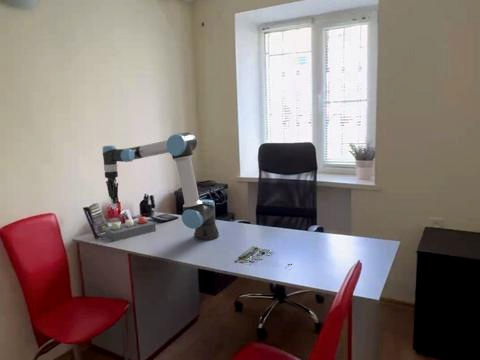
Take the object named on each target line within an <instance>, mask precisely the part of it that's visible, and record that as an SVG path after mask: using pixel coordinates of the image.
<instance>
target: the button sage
mask: <svg viewBox="0 0 480 360" xmlns="http://www.w3.org/2000/svg"><path fill="white" fill-rule="evenodd" d="M120 224H121V222H112V223H111V226H112V230H113V231H115V230H120Z"/></svg>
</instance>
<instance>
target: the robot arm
mask: <svg viewBox="0 0 480 360" xmlns="http://www.w3.org/2000/svg"><path fill="white" fill-rule="evenodd" d="M197 147H198V140H197V136H196V135H195V134H193V133H191V132H180V133H174V134H172V135H171V136H169V137H168V138H167V140H163V141H158V142H153V143H152V142H151V143H149V144H144V145H138V146H134V147H128V148H116V146H115V145H104V146H102V159H103V171H104V177H105V179H107V181H105V184H106V188H107V192H108V197H109V198H110V202H111V203H110V205H111V210H114V209H116V210H117V209H118V205H117V198H118V197H119V196H118V195H119V190H118V189H119V183H118V182H117V179H116V178H118V176H119V174H118V165H117V164H118V162H125V163H128V162H133V161H135V160H139V159H144V158H149V157H154V156H158V155H165V154H170V155H171V158H172V160H173V161H174V162H175V163H176V167H177V172H178V178H179V182H180V186H181V190H182V191H181V192H182V196H183V201H184V204H183V205H182V208H183V212H182V214H181V221H182V223H183V224H184V226H186V227H187V228H188V229H194V233H193V238H194V239H195V240H197V241H212V240H217V238H219V237H220V236H219V235H220V234H219V233H220V232H219V230H218V227H217V224H216V206H215V200H212V199H200V195H199V190H198V187H197V181H196V180H197V179H196V175H195V172H194V167H193V161H192V158H193V156H194V152H193V151H195V150H196V149H197Z"/></svg>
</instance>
